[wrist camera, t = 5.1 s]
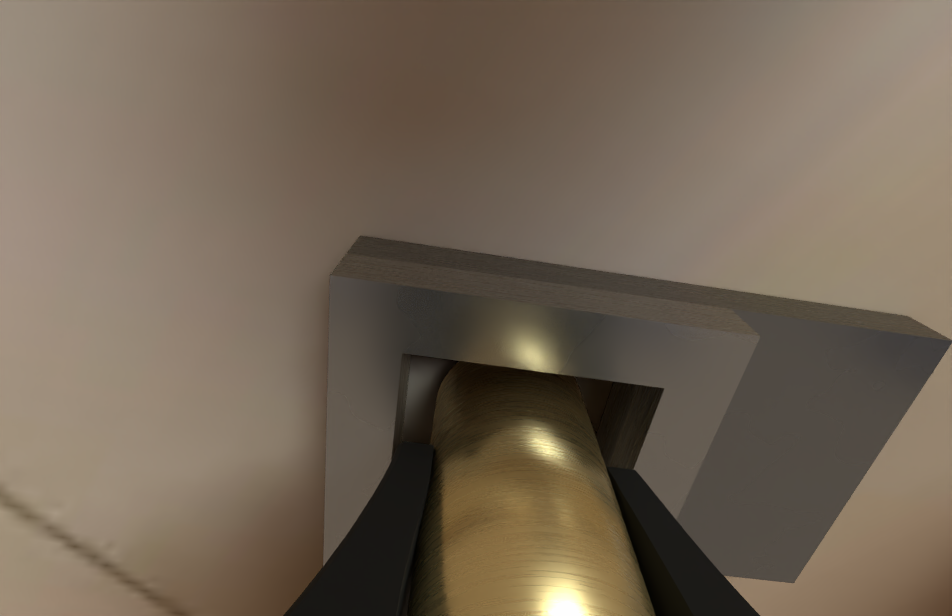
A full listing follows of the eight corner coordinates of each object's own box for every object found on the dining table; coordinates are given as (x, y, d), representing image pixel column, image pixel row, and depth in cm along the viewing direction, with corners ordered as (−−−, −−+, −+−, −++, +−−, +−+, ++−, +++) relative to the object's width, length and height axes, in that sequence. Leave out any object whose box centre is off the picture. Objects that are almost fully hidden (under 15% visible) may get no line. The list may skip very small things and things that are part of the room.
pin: (604, 366, 11) (763, 717, 5) (552, 477, 13) (623, 860, 6) (458, 327, 11) (428, 654, 5) (420, 446, 12) (360, 822, 6)
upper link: (705, 286, 11) (760, 336, 9) (549, 693, 18) (558, 775, 16) (360, 236, 11) (329, 274, 9) (338, 673, 18) (318, 755, 16)
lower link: (908, 316, 11) (952, 340, 10) (770, 546, 15) (793, 583, 14) (360, 236, 11) (346, 253, 10) (347, 497, 14) (336, 531, 13)
